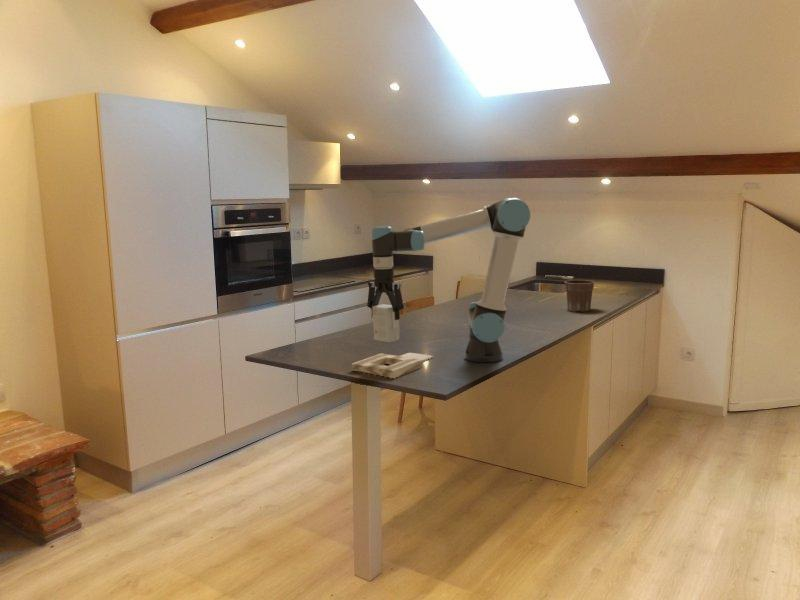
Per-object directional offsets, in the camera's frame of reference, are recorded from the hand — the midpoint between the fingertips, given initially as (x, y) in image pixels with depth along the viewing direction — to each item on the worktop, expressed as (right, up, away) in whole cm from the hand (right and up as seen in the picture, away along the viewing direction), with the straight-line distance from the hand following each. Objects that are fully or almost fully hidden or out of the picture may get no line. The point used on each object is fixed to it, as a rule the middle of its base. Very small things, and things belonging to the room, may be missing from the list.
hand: (386, 326), depth 239 cm
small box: (0, -5, +1) cm, 5 cm away
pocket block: (0, -16, +3) cm, 17 cm away
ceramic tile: (+11, -14, +17) cm, 24 cm away
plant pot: (+105, +4, +110) cm, 152 cm away
